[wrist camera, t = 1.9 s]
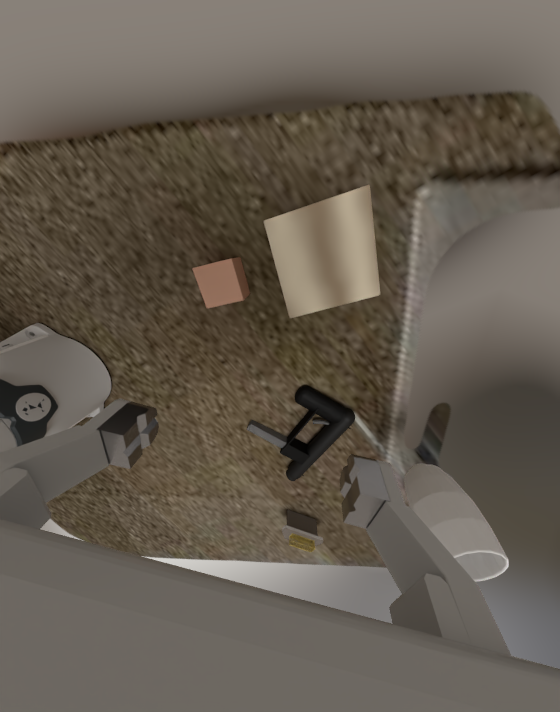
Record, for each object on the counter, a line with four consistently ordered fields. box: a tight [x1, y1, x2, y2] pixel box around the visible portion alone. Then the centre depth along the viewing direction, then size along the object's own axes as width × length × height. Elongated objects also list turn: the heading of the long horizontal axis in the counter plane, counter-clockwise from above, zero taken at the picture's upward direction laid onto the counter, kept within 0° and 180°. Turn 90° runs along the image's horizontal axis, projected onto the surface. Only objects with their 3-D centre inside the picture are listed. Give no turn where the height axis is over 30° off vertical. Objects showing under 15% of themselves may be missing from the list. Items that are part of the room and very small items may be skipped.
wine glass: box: [404, 464, 509, 581], centre depth 32 cm, size 7×7×21 cm
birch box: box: [264, 185, 380, 318], centre depth 28 cm, size 11×11×6 cm
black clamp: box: [247, 386, 355, 481], centre depth 43 cm, size 3×20×16 cm
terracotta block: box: [192, 257, 250, 308], centre depth 30 cm, size 5×5×5 cm
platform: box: [282, 510, 323, 552], centre depth 53 cm, size 12×18×7 cm, turn 64°
